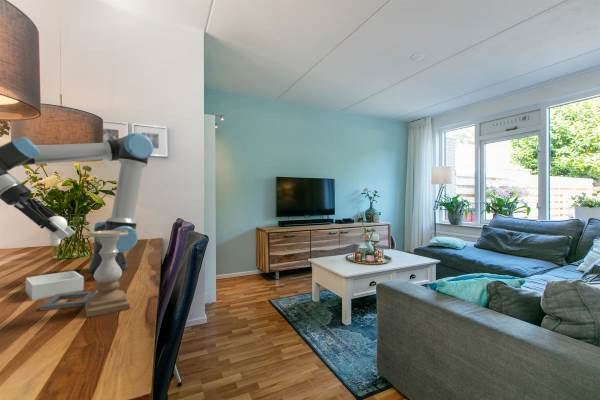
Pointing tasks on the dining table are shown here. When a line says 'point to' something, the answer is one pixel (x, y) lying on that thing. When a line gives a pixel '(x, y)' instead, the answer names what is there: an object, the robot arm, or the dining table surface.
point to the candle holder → (107, 278)
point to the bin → (53, 284)
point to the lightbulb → (61, 223)
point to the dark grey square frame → (54, 305)
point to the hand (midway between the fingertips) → (68, 235)
